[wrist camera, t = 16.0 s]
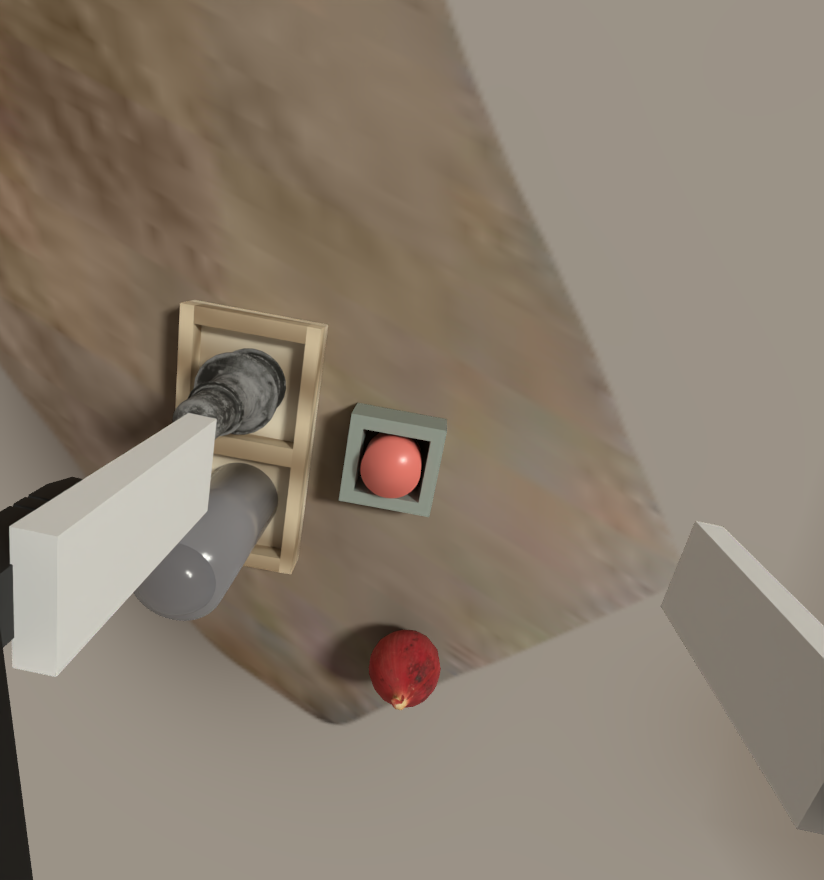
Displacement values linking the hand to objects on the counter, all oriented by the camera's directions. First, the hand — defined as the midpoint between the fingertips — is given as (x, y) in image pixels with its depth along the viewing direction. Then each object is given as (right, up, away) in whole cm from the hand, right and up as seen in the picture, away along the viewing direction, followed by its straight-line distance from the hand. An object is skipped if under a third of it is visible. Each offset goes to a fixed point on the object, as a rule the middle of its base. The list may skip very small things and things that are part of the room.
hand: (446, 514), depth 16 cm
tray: (-14, +2, +30) cm, 33 cm away
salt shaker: (-13, +6, +28) cm, 31 cm away
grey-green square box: (-2, +1, +30) cm, 30 cm away
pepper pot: (-15, -3, +31) cm, 34 cm away
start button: (-2, +1, +29) cm, 29 cm away
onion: (-1, -16, +36) cm, 39 cm away
